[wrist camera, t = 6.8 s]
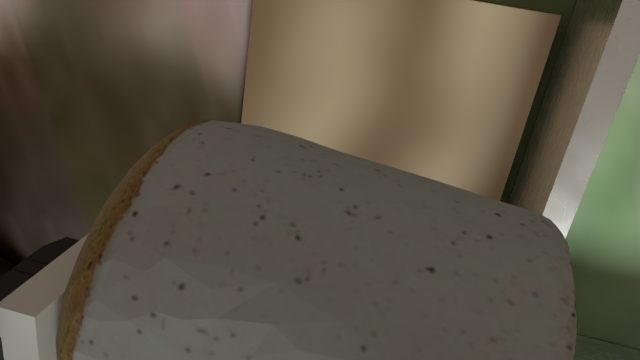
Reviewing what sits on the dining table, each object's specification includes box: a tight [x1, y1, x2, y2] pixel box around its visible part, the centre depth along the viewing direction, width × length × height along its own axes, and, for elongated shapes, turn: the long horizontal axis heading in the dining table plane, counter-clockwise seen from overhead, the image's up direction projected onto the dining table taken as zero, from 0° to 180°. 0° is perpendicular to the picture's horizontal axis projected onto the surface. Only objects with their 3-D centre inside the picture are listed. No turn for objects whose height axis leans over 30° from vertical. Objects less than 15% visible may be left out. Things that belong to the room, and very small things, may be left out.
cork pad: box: [241, 0, 561, 201], centre depth 23 cm, size 12×13×1 cm
